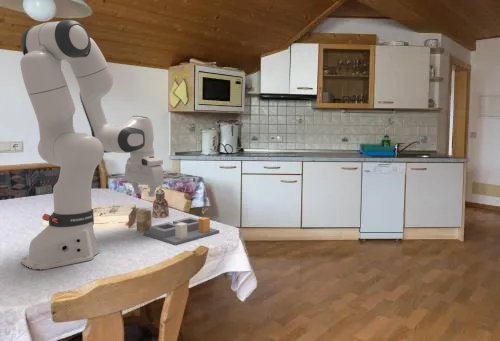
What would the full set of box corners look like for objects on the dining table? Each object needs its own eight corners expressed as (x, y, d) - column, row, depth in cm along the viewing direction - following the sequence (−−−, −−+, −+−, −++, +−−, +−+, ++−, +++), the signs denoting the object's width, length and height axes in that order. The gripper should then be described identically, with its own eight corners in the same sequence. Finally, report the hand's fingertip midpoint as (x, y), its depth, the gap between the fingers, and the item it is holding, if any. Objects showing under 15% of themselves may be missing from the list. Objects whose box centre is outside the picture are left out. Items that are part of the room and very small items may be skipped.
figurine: (150, 218, 184) (150, 190, 183) (154, 214, 191) (153, 188, 190) (167, 217, 185) (166, 190, 183) (169, 214, 192) (169, 187, 190)
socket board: (175, 245, 146) (175, 228, 145) (143, 234, 159) (142, 219, 158) (219, 232, 162) (219, 217, 161) (186, 224, 174) (186, 209, 173)
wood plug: (142, 232, 161) (142, 212, 160) (136, 230, 164) (136, 210, 163) (151, 230, 164) (151, 210, 163) (145, 228, 167) (145, 208, 166)
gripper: (120, 157, 165) (121, 192, 167) (151, 162, 152) (153, 199, 154) (134, 156, 170) (135, 190, 172) (165, 160, 156) (167, 197, 158)
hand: (144, 194), depth 163 cm, fingers open, 8 cm apart
